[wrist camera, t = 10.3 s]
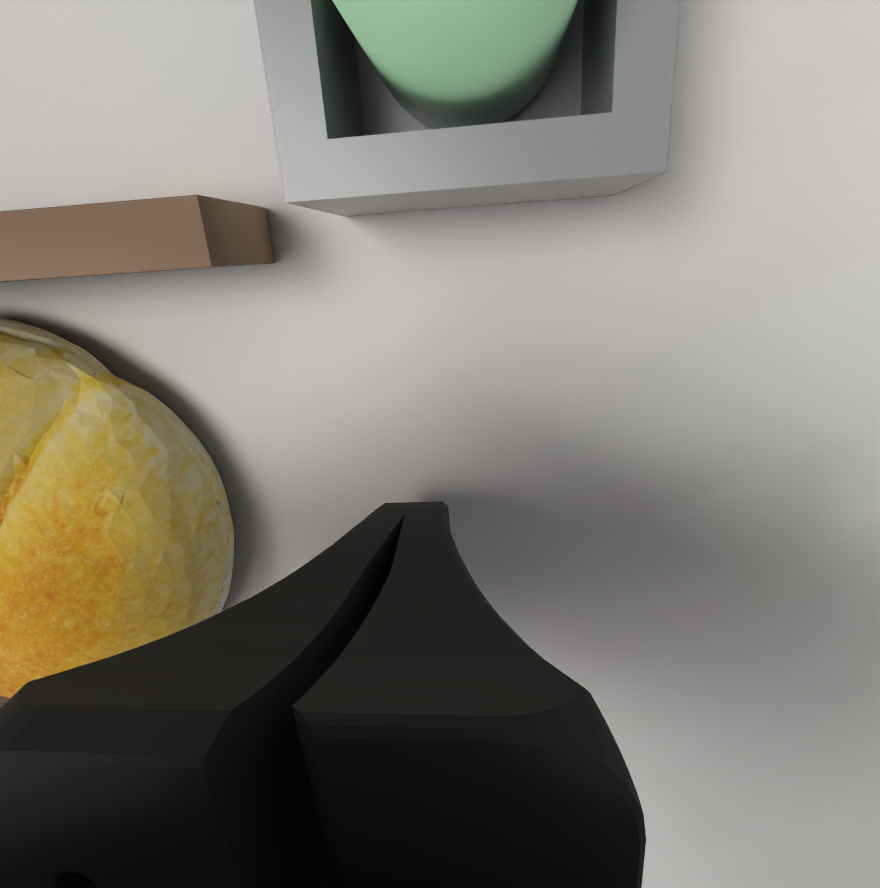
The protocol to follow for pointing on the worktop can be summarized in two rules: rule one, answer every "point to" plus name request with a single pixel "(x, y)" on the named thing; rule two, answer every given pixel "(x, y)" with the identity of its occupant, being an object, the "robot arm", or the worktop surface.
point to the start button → (460, 53)
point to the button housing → (478, 146)
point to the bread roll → (97, 513)
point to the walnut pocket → (131, 239)
